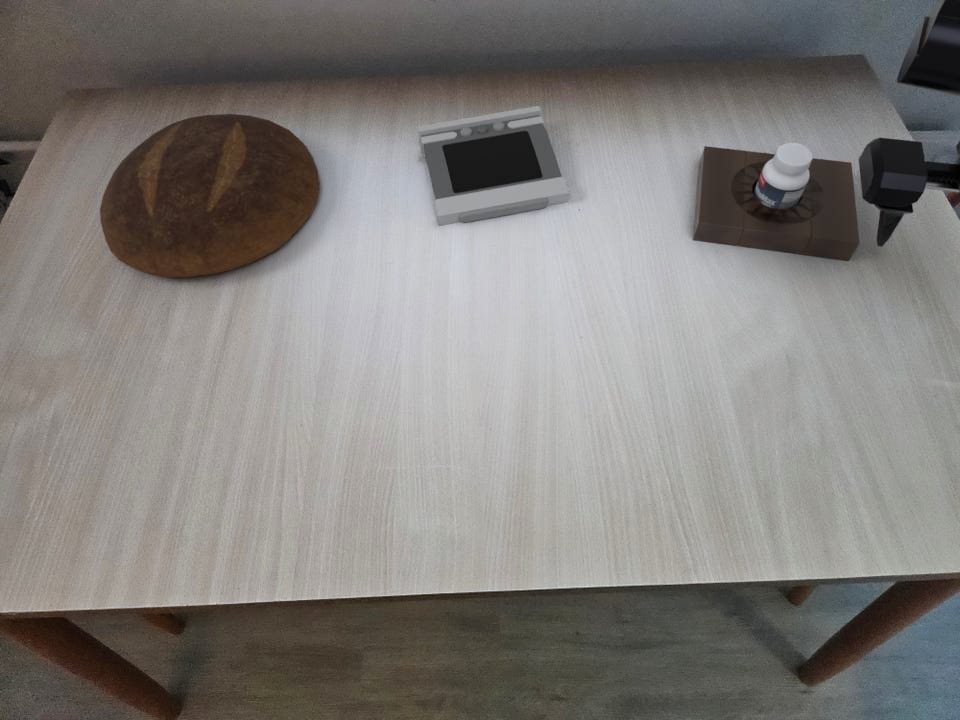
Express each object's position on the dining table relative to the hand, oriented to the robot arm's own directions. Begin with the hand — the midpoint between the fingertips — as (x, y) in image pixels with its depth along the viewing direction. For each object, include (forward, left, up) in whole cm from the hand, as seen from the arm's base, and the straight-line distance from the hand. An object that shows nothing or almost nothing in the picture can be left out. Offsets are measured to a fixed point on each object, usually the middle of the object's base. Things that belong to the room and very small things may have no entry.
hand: (930, 250), depth 61 cm
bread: (+82, -3, -12) cm, 83 cm away
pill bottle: (+11, -16, -12) cm, 23 cm away
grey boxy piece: (+47, -16, -12) cm, 51 cm away
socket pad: (+11, -16, -12) cm, 23 cm away
